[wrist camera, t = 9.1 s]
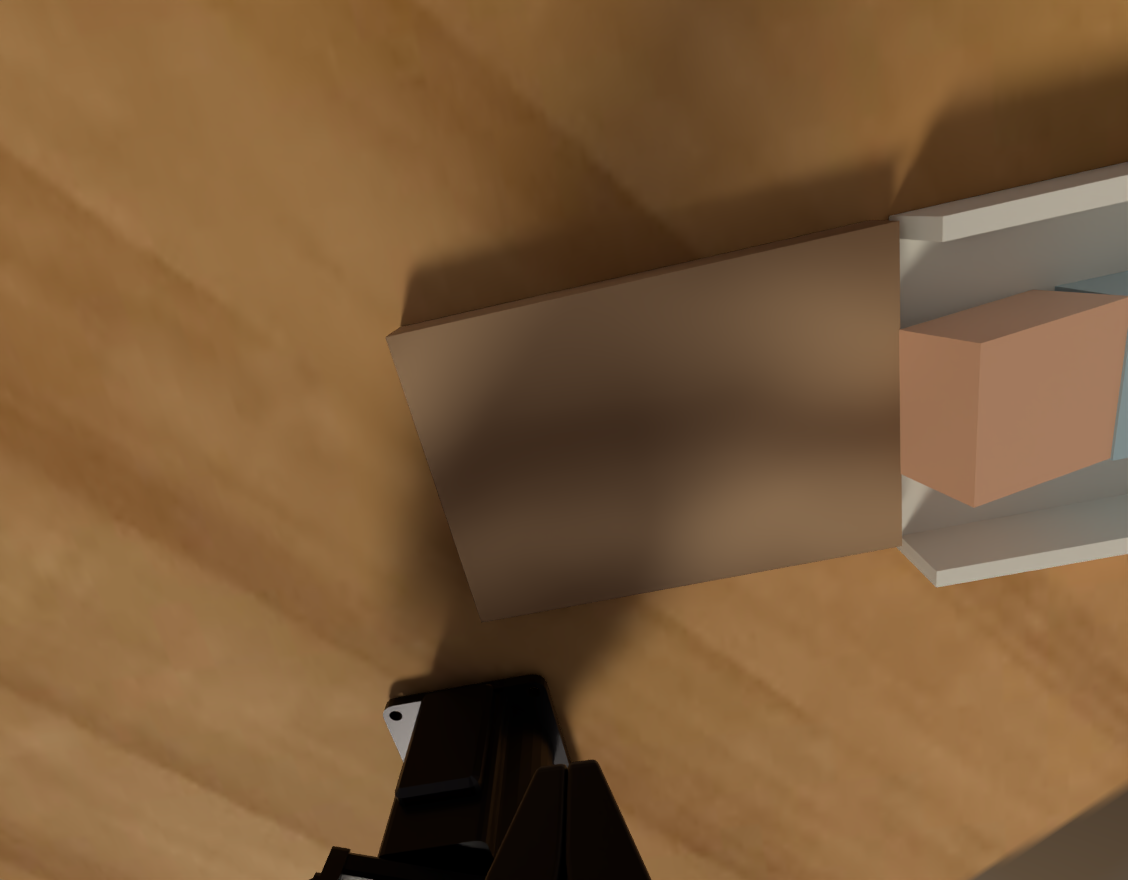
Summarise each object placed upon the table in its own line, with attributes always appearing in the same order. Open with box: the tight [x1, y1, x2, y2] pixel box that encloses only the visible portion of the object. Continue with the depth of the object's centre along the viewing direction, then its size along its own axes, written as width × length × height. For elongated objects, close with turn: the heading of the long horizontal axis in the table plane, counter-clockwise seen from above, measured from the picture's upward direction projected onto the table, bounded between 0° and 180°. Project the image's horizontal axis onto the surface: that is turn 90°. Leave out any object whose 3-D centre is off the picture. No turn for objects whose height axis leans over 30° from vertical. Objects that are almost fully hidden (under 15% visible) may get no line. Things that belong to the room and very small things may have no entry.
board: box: [386, 220, 902, 622], centre depth 18 cm, size 10×14×2 cm
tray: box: [889, 162, 1128, 587], centre depth 17 cm, size 11×11×2 cm
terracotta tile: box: [899, 290, 1128, 508], centre depth 16 cm, size 4×4×2 cm
